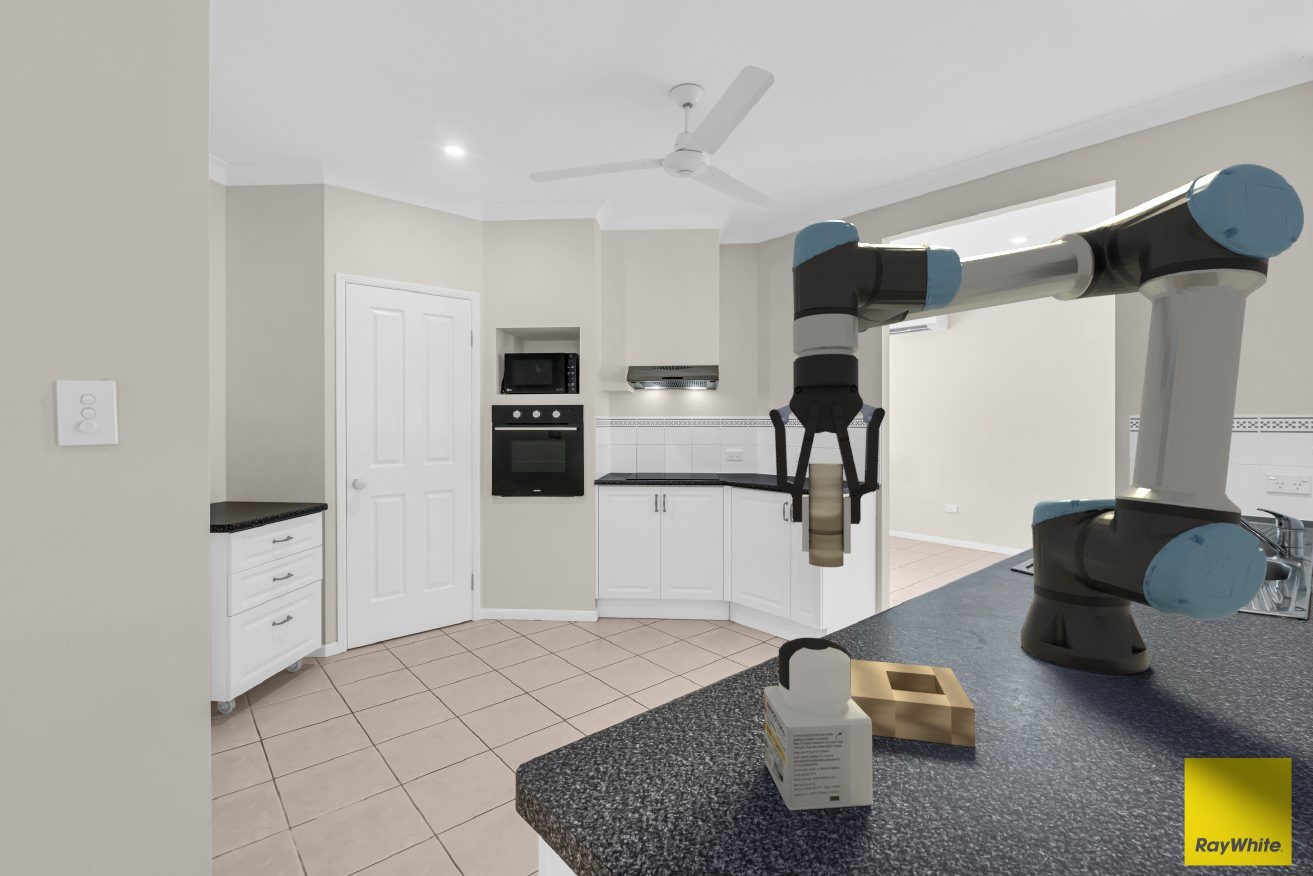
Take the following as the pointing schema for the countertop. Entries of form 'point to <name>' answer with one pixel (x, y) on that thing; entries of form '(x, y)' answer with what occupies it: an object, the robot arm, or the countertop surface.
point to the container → (817, 729)
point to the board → (913, 702)
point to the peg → (826, 515)
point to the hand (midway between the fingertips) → (825, 550)
